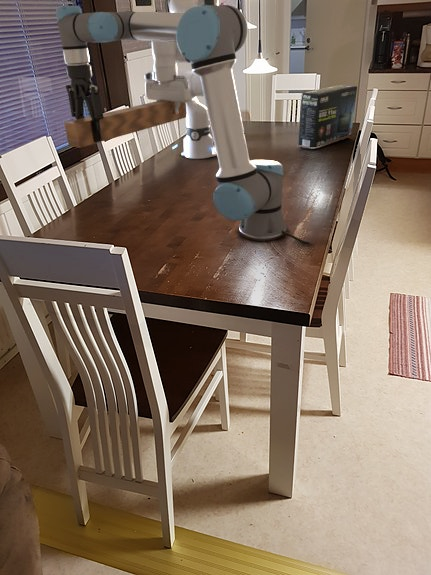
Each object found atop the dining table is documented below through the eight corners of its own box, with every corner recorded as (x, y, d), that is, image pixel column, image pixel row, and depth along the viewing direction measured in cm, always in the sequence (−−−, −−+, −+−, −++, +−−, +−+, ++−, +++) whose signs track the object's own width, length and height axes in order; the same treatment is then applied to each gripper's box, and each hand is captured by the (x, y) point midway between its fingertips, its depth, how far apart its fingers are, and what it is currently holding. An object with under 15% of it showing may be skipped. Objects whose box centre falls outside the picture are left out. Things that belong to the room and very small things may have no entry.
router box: (314, 151, 231) (318, 94, 217) (296, 148, 237) (299, 92, 224) (352, 138, 251) (358, 85, 238) (335, 135, 258) (340, 83, 245)
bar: (79, 147, 148) (75, 124, 144) (68, 145, 151) (64, 122, 147) (186, 117, 186) (185, 97, 182) (176, 116, 189) (174, 97, 185)
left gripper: (192, 74, 171) (194, 113, 178) (152, 72, 181) (155, 109, 188) (181, 77, 166) (184, 116, 174) (140, 74, 177) (145, 112, 184)
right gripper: (107, 63, 140) (118, 140, 152) (68, 62, 150) (82, 135, 162) (88, 66, 135) (101, 145, 147) (49, 64, 145) (65, 139, 157)
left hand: (169, 112), depth 181 cm, fingers closed on bar, 5 cm apart
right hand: (91, 140), depth 155 cm, fingers closed on bar, 6 cm apart
